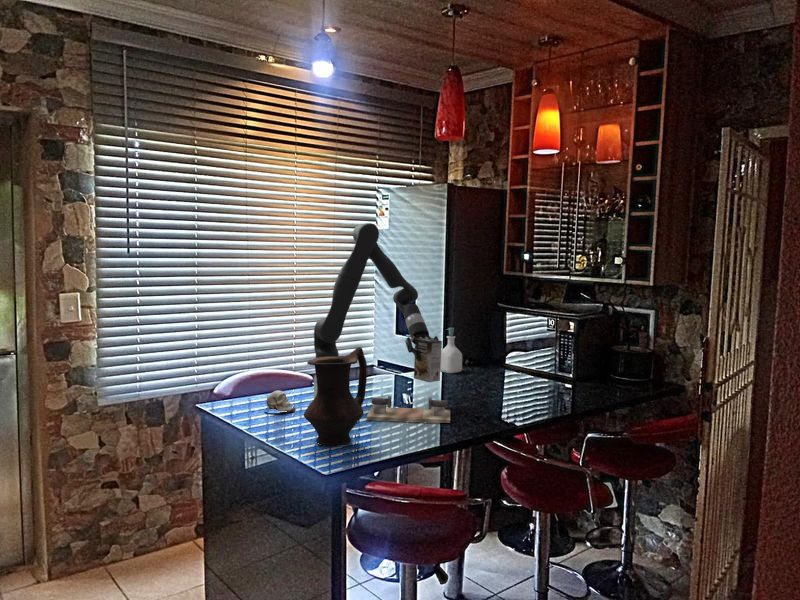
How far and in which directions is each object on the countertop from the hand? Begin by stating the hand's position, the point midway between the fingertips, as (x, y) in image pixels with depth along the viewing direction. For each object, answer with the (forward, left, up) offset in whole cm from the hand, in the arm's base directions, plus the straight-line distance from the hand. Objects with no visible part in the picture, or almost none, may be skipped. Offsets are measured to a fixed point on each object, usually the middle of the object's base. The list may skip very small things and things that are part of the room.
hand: (429, 359), depth 244 cm
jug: (-49, -31, -19) cm, 61 cm away
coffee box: (0, +1, -9) cm, 9 cm away
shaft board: (-14, -12, -19) cm, 26 cm away
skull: (-56, +14, -19) cm, 61 cm away
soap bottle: (+44, +59, -19) cm, 76 cm away
